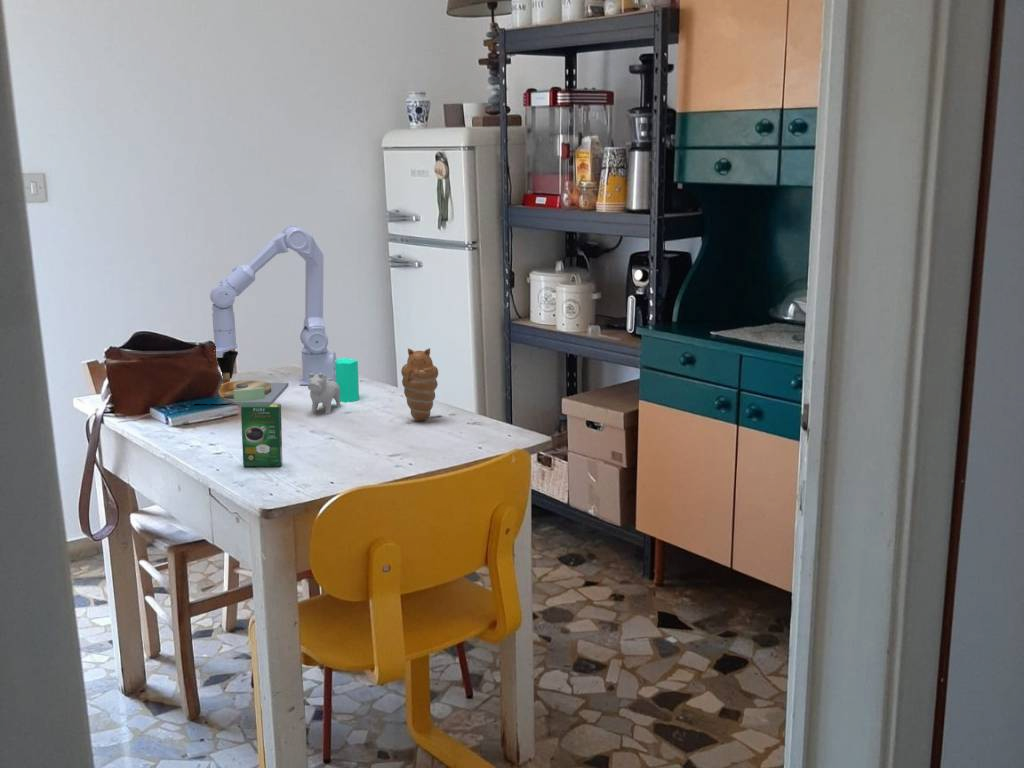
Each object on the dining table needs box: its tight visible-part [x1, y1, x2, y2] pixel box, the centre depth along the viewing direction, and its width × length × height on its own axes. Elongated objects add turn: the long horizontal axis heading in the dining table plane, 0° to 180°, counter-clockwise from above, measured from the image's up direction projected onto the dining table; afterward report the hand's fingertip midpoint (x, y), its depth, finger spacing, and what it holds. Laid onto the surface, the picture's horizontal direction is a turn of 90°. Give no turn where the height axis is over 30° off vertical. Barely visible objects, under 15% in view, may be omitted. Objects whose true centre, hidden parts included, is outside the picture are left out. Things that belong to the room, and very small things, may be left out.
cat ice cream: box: [400, 348, 439, 422], centre depth 237 cm, size 9×8×18 cm
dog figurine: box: [307, 373, 341, 415], centre depth 247 cm, size 5×13×11 cm, turn 169°
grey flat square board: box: [224, 382, 289, 406], centre depth 264 cm, size 20×22×1 cm
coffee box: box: [240, 403, 283, 468], centre depth 203 cm, size 8×3×13 cm, turn 93°
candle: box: [335, 354, 360, 403], centre depth 259 cm, size 6×6×12 cm
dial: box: [219, 373, 271, 398], centre depth 263 cm, size 15×16×4 cm
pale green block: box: [234, 387, 265, 401], centre depth 256 cm, size 8×2×3 cm, turn 116°
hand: (227, 378), depth 270 cm, fingers closed
